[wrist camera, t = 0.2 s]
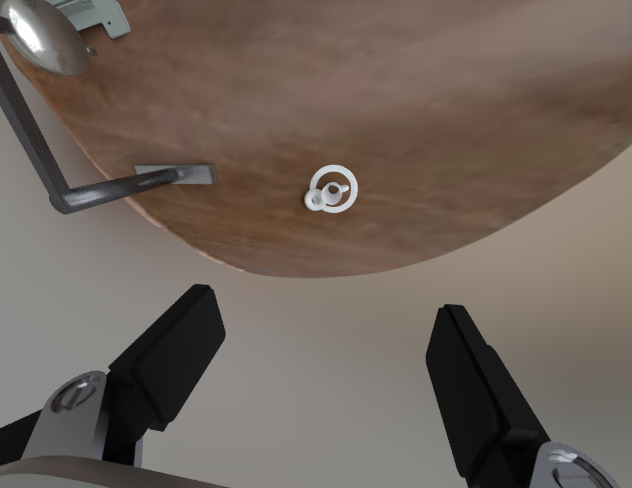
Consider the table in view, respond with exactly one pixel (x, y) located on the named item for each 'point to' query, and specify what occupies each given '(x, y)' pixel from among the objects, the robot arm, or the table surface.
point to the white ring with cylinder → (326, 195)
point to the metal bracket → (94, 15)
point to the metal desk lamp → (68, 60)
